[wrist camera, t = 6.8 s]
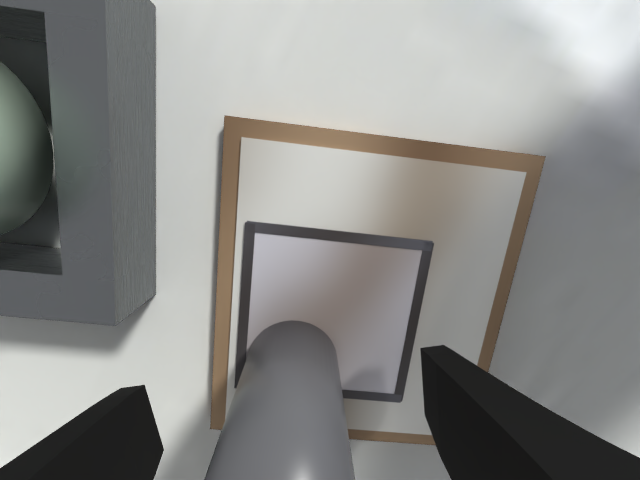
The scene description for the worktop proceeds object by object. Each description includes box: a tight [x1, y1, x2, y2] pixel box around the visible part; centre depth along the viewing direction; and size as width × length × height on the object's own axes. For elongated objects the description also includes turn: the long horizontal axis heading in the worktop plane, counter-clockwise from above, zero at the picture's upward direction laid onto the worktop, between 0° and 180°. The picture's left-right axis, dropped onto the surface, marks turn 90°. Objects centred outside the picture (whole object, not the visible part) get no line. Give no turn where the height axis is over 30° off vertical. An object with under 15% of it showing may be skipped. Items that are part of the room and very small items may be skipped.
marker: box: [205, 320, 355, 480], centre depth 6 cm, size 3×3×6 cm
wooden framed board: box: [210, 116, 546, 445], centre depth 9 cm, size 9×10×1 cm
